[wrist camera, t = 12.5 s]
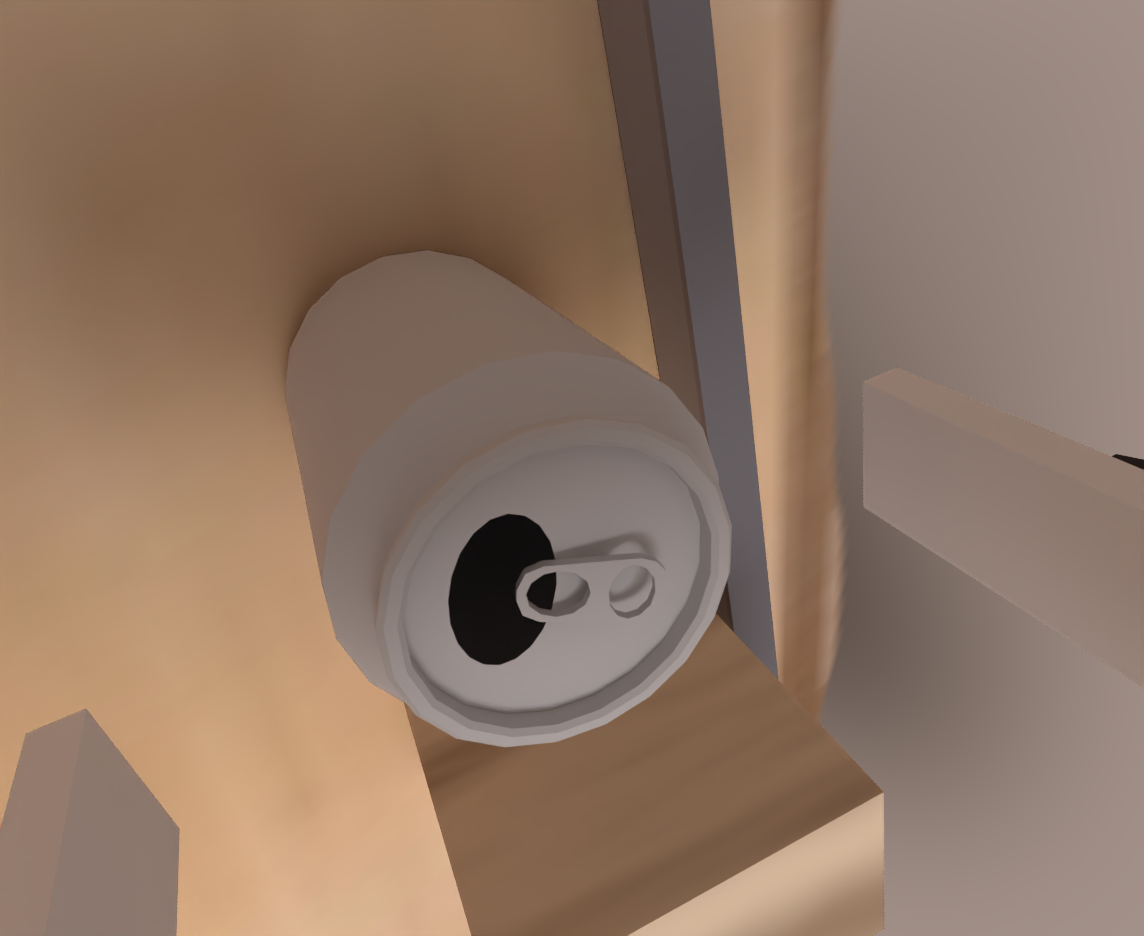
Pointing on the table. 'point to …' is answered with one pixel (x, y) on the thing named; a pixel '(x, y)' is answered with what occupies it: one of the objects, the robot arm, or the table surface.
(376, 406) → the can
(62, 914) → the robot arm
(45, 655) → the table surface
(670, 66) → the rail
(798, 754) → the kraft box
